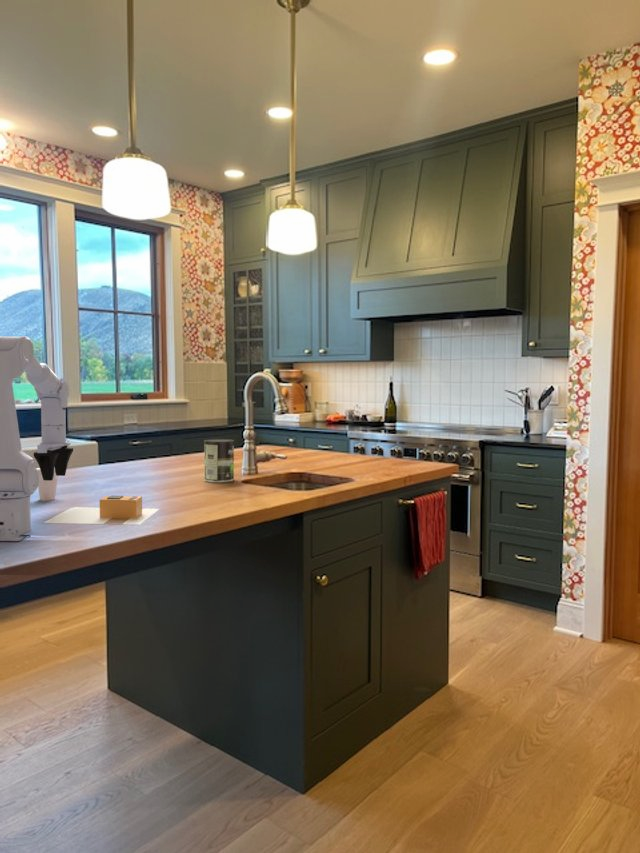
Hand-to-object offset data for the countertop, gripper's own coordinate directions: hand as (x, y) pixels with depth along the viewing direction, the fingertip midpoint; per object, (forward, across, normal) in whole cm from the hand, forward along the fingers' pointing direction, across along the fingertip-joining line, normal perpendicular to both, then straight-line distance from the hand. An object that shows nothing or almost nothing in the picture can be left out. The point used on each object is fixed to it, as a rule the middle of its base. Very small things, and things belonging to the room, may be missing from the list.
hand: (54, 477), depth 161 cm
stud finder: (+8, -5, -19) cm, 21 cm away
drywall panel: (+9, -5, -14) cm, 18 cm away
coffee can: (+10, +57, -33) cm, 67 cm away
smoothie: (+10, +14, +8) cm, 19 cm away
